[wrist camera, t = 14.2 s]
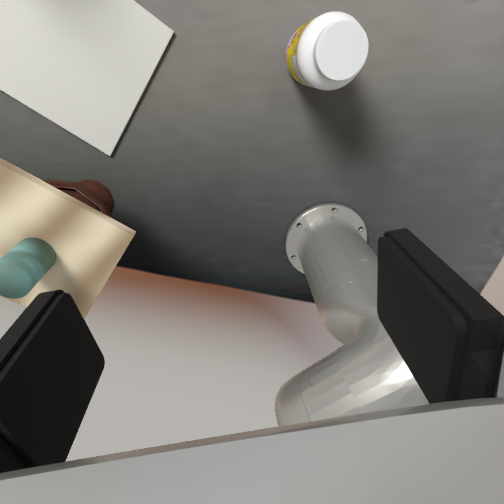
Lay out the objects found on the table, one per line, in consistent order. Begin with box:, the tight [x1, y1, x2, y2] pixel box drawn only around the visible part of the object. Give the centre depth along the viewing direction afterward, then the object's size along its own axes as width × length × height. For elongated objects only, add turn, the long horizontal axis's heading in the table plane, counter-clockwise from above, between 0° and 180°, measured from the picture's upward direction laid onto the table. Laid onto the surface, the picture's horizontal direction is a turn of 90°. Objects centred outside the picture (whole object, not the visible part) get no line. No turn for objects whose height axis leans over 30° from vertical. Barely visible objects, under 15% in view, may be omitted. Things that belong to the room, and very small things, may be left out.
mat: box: [0, 0, 174, 156], centre depth 39 cm, size 17×17×1 cm
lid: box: [0, 158, 136, 319], centre depth 32 cm, size 14×14×6 cm
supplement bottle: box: [286, 12, 368, 90], centre depth 35 cm, size 7×7×13 cm
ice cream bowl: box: [43, 179, 113, 218], centre depth 41 cm, size 11×11×15 cm
